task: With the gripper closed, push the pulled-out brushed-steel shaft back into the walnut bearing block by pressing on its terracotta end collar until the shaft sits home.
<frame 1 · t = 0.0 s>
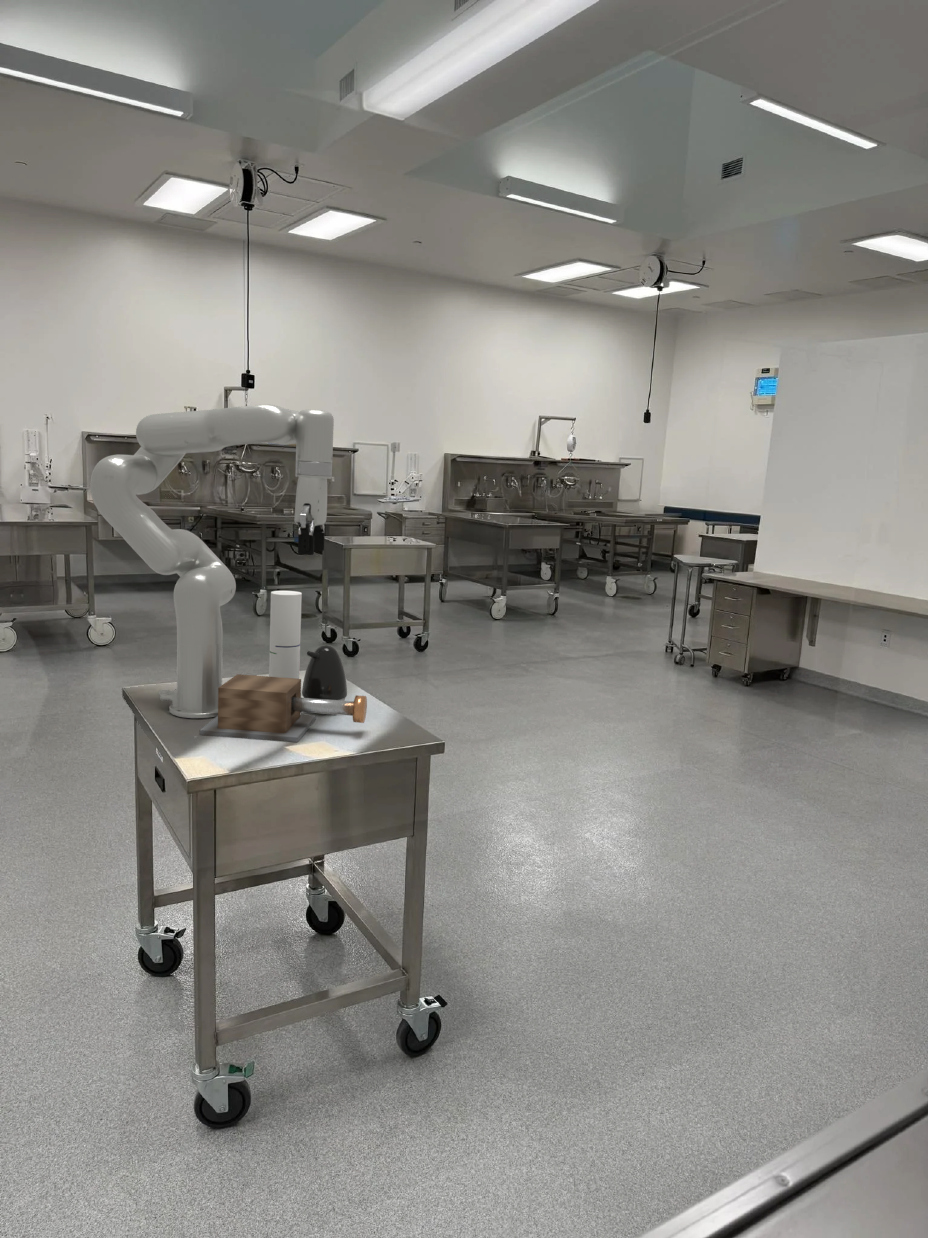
hand: (311, 552, 177), 37 cm above the table, tool pointing down, fingers open, 9 cm apart
black rounded figure: (323, 710, 191), on the table
cylindrical container: (283, 695, 201), on the table
bearing block: (260, 727, 175), on the table
shaft: (317, 706, 174), point 5 cm above the table, slide at 8.0 cm
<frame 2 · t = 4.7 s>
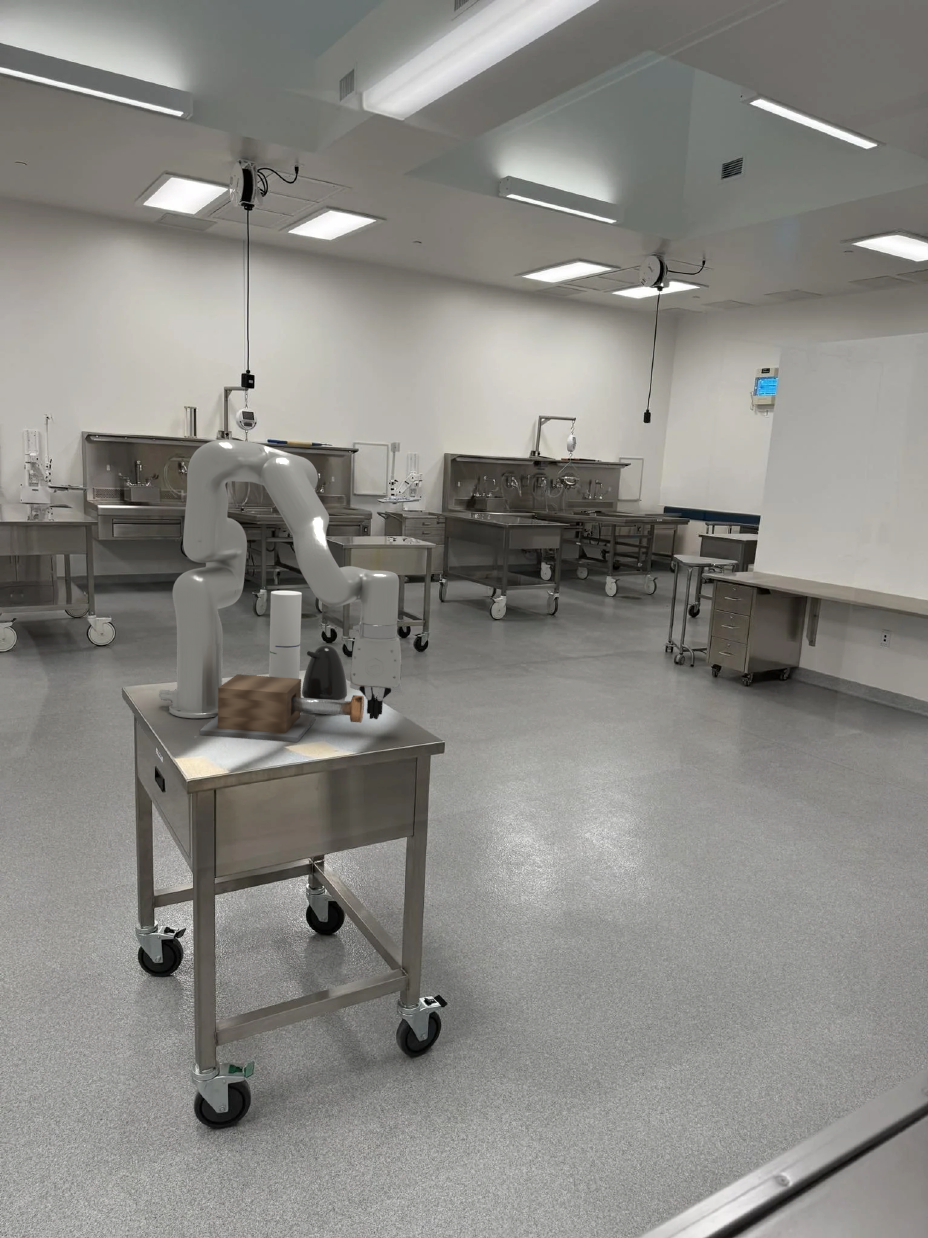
hand: (374, 717, 174), 4 cm above the table, tool pointing down, fingers closed
shaft: (314, 705, 174), point 5 cm above the table, slide at 7.4 cm, touching gripper
everything else where it was.
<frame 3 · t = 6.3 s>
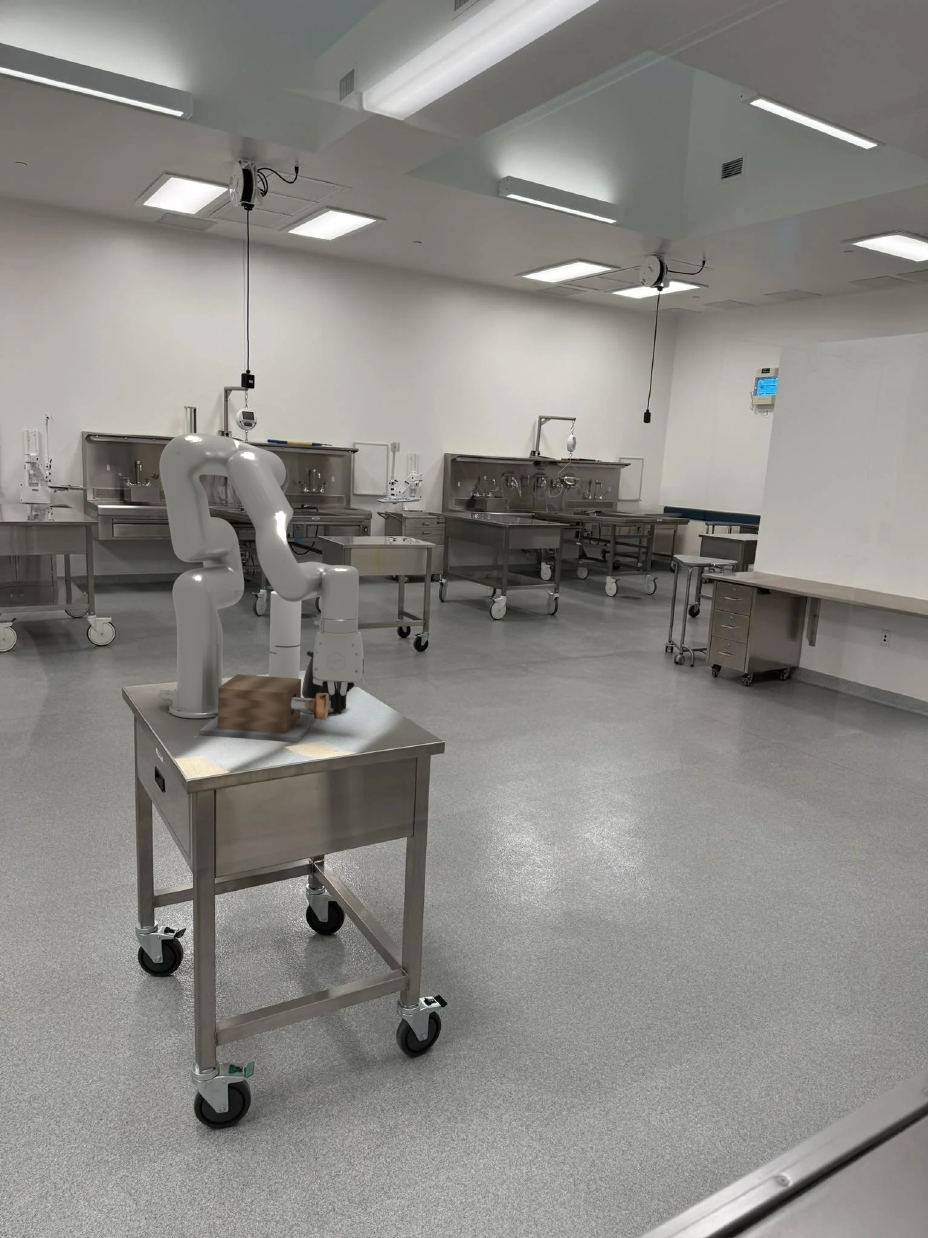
hand: (338, 712, 174), 5 cm above the table, tool pointing down, fingers closed
shaft: (279, 703, 174), point 5 cm above the table, slide at -0.1 cm, touching gripper
everything else where it was.
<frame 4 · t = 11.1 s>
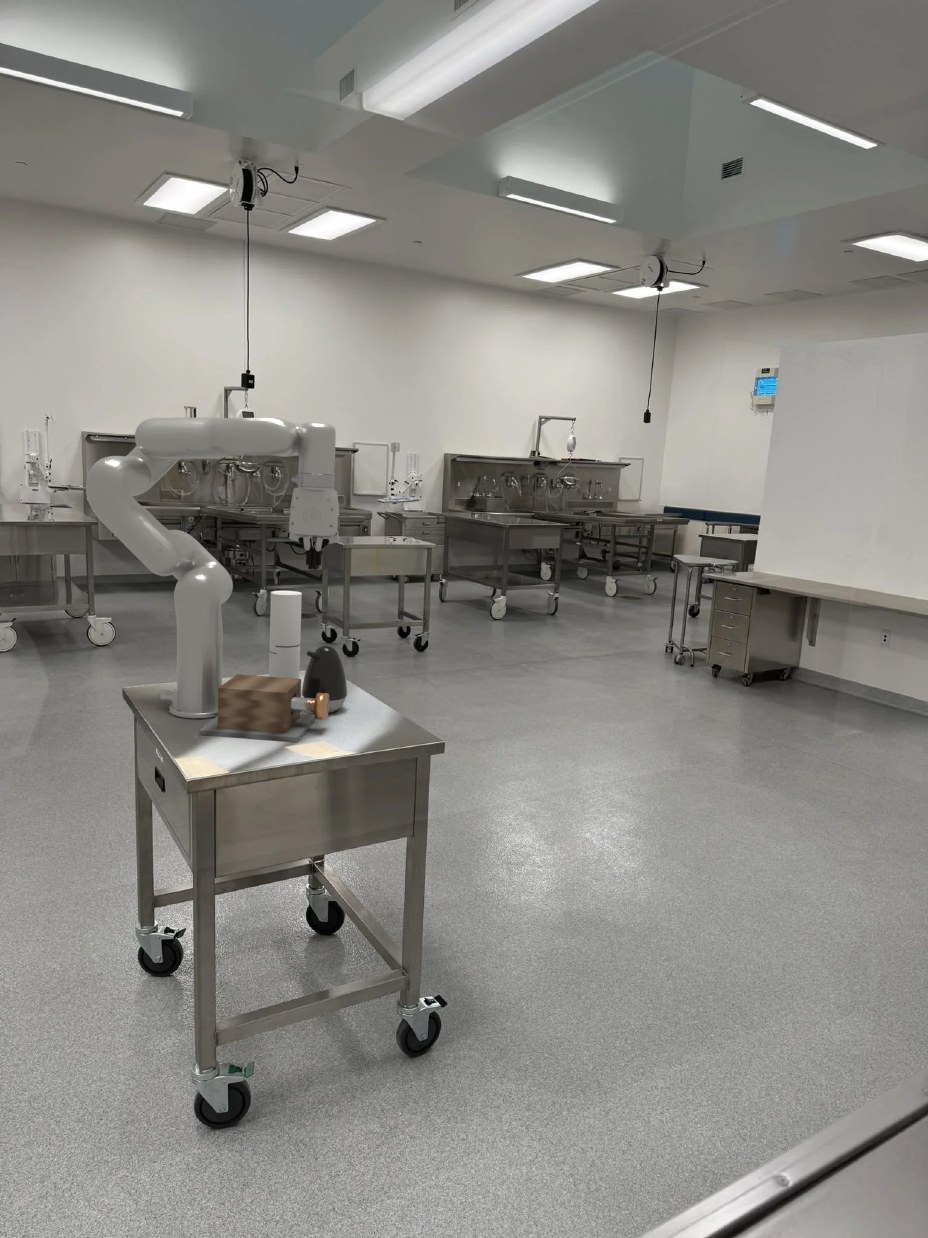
hand: (313, 568, 179), 33 cm above the table, tool pointing down, fingers closed
shaft: (279, 703, 174), point 5 cm above the table, slide at 0.0 cm
everything else where it was.
at the end: shaft slide at 0.0 cm; black rounded figure moved 0.2 cm from its start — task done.
